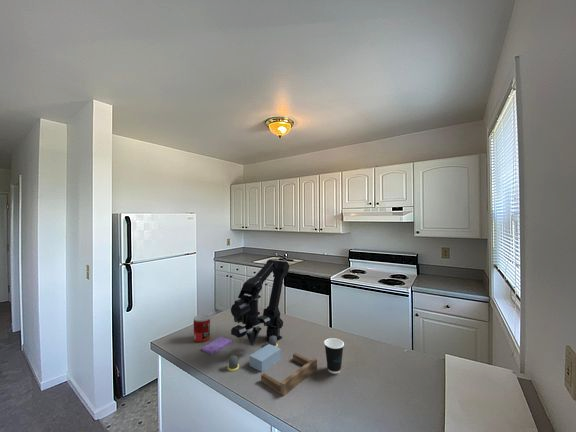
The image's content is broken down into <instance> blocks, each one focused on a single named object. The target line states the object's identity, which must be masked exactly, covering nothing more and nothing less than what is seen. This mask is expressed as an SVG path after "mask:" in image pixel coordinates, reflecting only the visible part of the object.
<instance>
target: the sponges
mask: <svg viewBox="0 0 576 432" xmlns="http://www.w3.org/2000/svg"><path fill="white" fill-rule="evenodd" d="M232 342H233V341H232V339H230V338H225V337H223V336H220V337H218V338H216V339H215V340H214V341H213V340H212V341H211V342H210V343H207V344H206V345H204V346H203V347H201V351H202V352H204V353H208V354H211V355H214V354H216V353H217V352H218V351H221V350H222V349H223V348H225V347H226V346H228V345H230V344H231V343H232Z"/></svg>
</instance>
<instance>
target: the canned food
mask: <svg viewBox="0 0 576 432" xmlns="http://www.w3.org/2000/svg"><path fill="white" fill-rule="evenodd" d="M210 338H211V316H210V315H209V314H197V315H196V316H194V317H193V340H194V341H195V342H196V343H205V342H207V341H209V340H210Z"/></svg>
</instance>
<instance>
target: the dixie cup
mask: <svg viewBox="0 0 576 432" xmlns="http://www.w3.org/2000/svg"><path fill="white" fill-rule="evenodd" d="M323 345H324V349H325V356H326V357H325V358H326V366H327V371H328V372H329V373H330V374H333V375H336V374H340V373H341V370H342V362H343V361H342V360H343V352H344V346H345V343H344V341H343V340H341V339H339V338H336V337H335V338H334V337H333V338H332V337H330V338H327V339H325V340H324V341H323Z"/></svg>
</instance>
